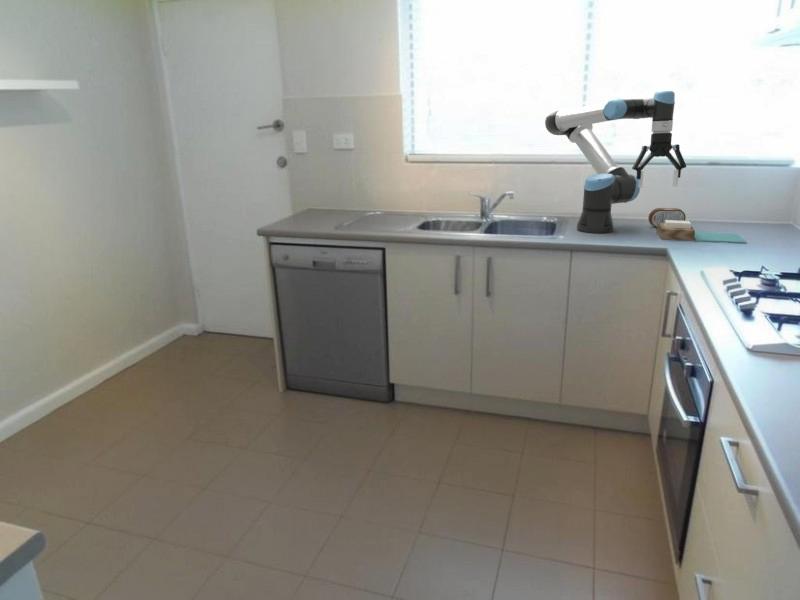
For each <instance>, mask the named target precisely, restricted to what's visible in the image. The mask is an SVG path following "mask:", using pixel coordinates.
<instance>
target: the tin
mask: <svg viewBox="0 0 800 600" xmlns="http://www.w3.org/2000/svg"><path fill="white" fill-rule="evenodd" d="M686 218H687V217H686V214H685V212H684V211H683V210H682V209H681V208H677V207H675V208H674V207H658V208H657V207H656V208H654V209H652V210H651V212H650V213H649V215H648V222H649V224H650V225H651V226H653V227H655V228H657V226H658V223H665V220H678V221H686Z"/></svg>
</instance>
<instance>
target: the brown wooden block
mask: <svg viewBox="0 0 800 600" xmlns="http://www.w3.org/2000/svg"><path fill="white" fill-rule="evenodd" d="M695 232H696V230H695V229H694V228H693V226H691V229H688V228H666V227H665V225H664V223H658V226H657V227H656V234H657V235H658V237H659V239H660V238H661V239H660V240H669V239H672V240H673V239H674V240H675V241H690V240H694V234H695ZM672 240H671V241H672ZM674 240H673V241H674ZM694 241H695V240H694Z"/></svg>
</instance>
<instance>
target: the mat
mask: <svg viewBox="0 0 800 600" xmlns="http://www.w3.org/2000/svg"><path fill="white" fill-rule="evenodd" d="M694 241H695V242H700V241H703V242H704V243H720V242H726V244H741V243H748V241H746V240H745V239H744V238H743V237H742V236H741V235H739V234H738V233H731V232H730V233H726V232H706V231H705V232H704V231H695V234H694ZM703 242H702V243H703ZM727 242H728V243H727Z"/></svg>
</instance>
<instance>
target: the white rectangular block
mask: <svg viewBox="0 0 800 600" xmlns="http://www.w3.org/2000/svg"><path fill="white" fill-rule="evenodd" d="M664 225H665V227H666V228H688V229H691V227H692V223H691V222H690V221H689V220H685V221H678V220H665V223H664Z"/></svg>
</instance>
